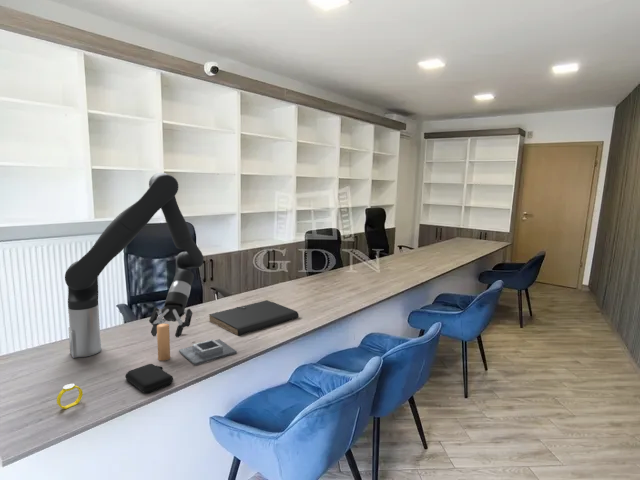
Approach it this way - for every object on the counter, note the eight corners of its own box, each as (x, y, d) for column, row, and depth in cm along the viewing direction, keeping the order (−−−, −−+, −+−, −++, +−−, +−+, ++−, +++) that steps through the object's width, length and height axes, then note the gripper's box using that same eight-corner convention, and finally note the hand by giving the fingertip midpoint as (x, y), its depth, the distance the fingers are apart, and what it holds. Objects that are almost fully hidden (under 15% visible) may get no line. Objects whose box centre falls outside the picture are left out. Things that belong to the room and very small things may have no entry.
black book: (266, 299, 196) (298, 311, 179) (266, 307, 196) (298, 319, 180) (208, 313, 172) (239, 328, 156) (208, 322, 173) (239, 338, 156)
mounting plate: (194, 365, 130) (194, 357, 129) (178, 351, 140) (178, 344, 140) (236, 353, 140) (236, 345, 140) (219, 341, 151) (219, 334, 150)
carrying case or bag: (179, 383, 119) (156, 368, 128) (178, 374, 118) (155, 359, 128) (144, 397, 111) (123, 379, 120) (144, 387, 110) (122, 370, 120)
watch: (61, 413, 102) (58, 393, 101) (56, 410, 103) (53, 390, 102) (85, 401, 107) (82, 382, 106) (80, 398, 108) (77, 379, 107)
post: (160, 361, 132) (159, 328, 130) (156, 357, 135) (155, 325, 133) (171, 358, 135) (170, 326, 133) (167, 354, 138) (166, 322, 136)
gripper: (156, 290, 142) (141, 330, 132) (193, 291, 141) (181, 332, 132) (163, 299, 148) (149, 339, 138) (199, 301, 147) (188, 341, 138)
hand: (165, 336), depth 135 cm, fingers open, 8 cm apart
